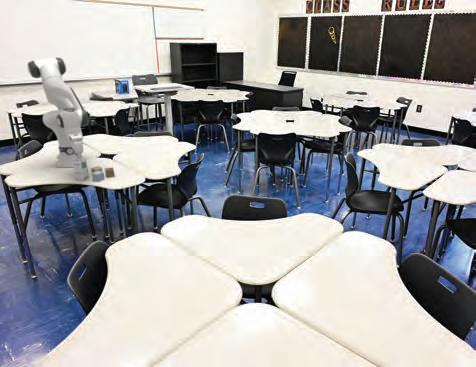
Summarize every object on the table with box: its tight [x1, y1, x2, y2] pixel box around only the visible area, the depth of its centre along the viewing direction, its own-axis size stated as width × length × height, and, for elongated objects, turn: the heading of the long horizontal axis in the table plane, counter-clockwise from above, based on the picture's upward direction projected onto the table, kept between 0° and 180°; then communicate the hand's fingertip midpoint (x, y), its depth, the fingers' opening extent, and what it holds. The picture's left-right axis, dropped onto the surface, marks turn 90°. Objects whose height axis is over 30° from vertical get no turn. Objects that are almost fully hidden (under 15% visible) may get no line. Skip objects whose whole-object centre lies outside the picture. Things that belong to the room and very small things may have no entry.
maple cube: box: [90, 165, 104, 173], centre depth 229 cm, size 5×5×5 cm
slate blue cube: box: [91, 171, 105, 183], centre depth 220 cm, size 5×5×5 cm
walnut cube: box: [104, 167, 116, 179], centre depth 226 cm, size 5×5×5 cm
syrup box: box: [72, 155, 90, 182], centre depth 220 cm, size 6×6×14 cm
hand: (78, 157), depth 217 cm, fingers open, 8 cm apart
